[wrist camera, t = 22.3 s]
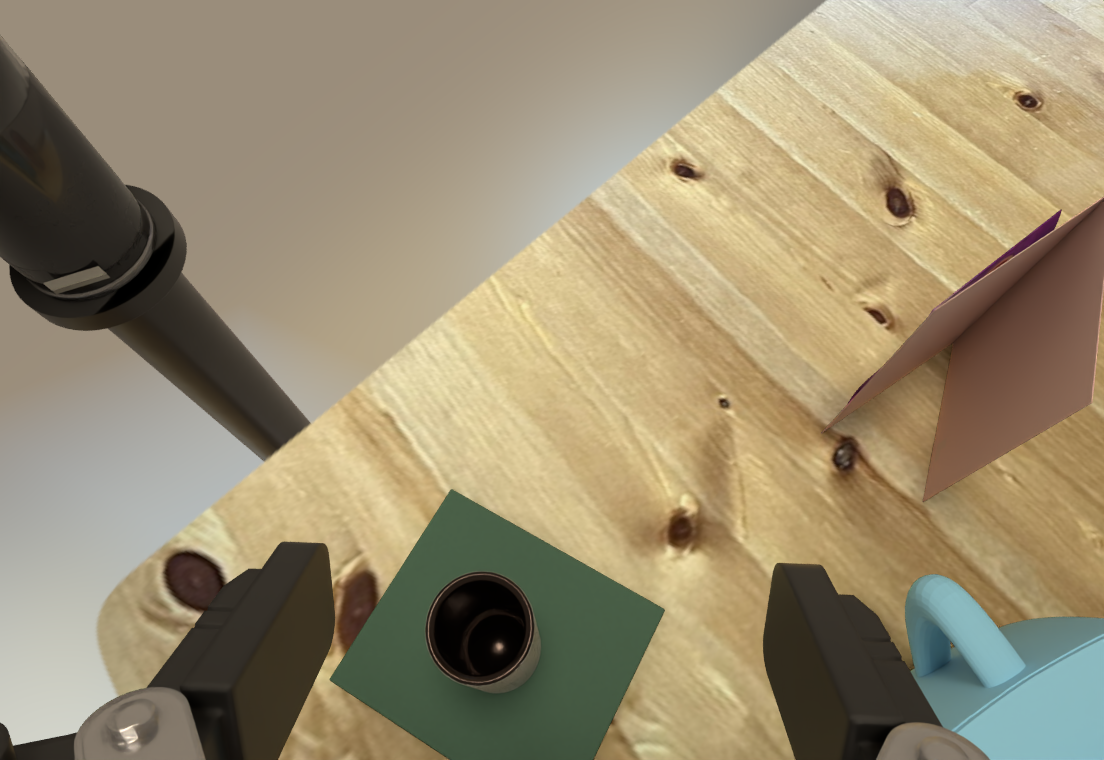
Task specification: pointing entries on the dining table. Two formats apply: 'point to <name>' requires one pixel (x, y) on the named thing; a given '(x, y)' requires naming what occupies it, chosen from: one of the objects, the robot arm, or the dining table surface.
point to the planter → (483, 632)
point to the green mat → (565, 632)
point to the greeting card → (1009, 347)
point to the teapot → (1008, 675)
